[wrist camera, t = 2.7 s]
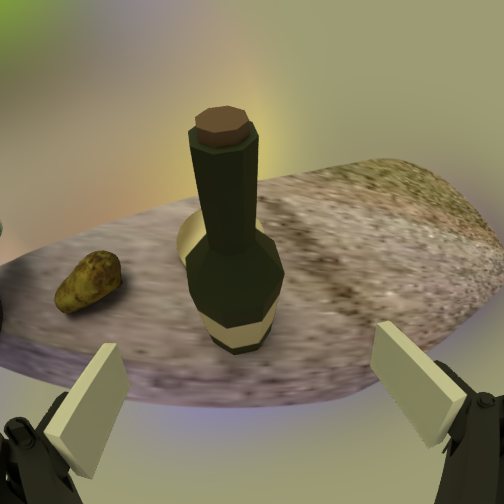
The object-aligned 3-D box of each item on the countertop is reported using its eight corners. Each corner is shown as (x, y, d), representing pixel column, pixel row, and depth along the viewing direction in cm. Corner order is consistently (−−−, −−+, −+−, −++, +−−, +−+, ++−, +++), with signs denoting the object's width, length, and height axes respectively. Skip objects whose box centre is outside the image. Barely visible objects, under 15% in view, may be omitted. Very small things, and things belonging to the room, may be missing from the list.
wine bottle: (197, 317, 37) (112, 119, 12) (247, 287, 40) (245, 73, 14) (231, 367, 34) (174, 217, 8) (282, 332, 36) (353, 135, 11)
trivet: (172, 282, 40) (167, 272, 38) (190, 214, 47) (187, 202, 44) (261, 290, 40) (261, 281, 37) (266, 218, 46) (266, 206, 44)
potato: (70, 273, 40) (46, 248, 34) (134, 267, 41) (115, 238, 35) (63, 318, 36) (34, 298, 29) (131, 316, 37) (107, 294, 30)
